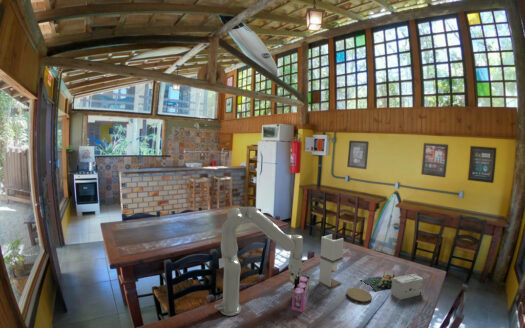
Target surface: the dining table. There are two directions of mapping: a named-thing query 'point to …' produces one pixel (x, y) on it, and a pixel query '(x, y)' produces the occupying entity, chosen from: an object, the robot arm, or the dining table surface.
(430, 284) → the dining table surface
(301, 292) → the gum box
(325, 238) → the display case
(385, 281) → the plated dish
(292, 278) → the ash cube
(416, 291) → the concrete block
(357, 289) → the tan round disc
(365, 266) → the dining table surface
